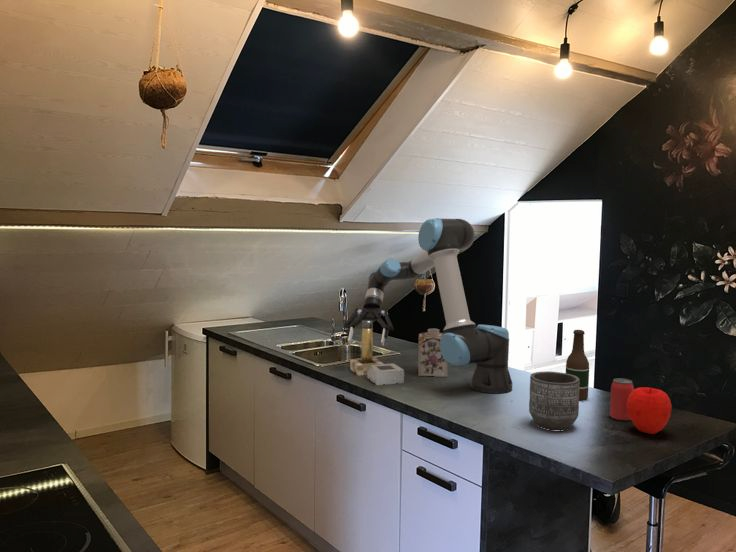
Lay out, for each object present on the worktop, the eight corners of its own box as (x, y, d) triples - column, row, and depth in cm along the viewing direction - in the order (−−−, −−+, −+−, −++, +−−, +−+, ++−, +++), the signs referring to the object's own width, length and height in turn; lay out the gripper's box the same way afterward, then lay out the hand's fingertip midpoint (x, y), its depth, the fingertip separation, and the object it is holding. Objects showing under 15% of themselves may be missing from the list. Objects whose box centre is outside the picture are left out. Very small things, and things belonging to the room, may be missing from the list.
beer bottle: (573, 402, 203) (575, 332, 201) (559, 395, 210) (562, 328, 208) (592, 400, 205) (595, 331, 203) (579, 394, 212) (581, 327, 210)
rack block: (383, 373, 240) (384, 363, 239) (357, 375, 236) (357, 365, 236) (375, 367, 250) (375, 357, 250) (350, 369, 247) (350, 359, 246)
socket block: (403, 383, 226) (404, 370, 225) (376, 385, 222) (376, 372, 222) (393, 375, 236) (393, 363, 236) (367, 377, 233) (367, 365, 232)
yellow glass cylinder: (373, 372, 242) (374, 321, 240) (363, 373, 240) (363, 321, 238) (370, 369, 246) (370, 319, 244) (359, 370, 245) (360, 319, 243)
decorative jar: (446, 370, 246) (447, 327, 244) (447, 377, 234) (448, 332, 233) (417, 369, 247) (418, 326, 246) (417, 376, 236) (418, 331, 234)
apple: (627, 436, 170) (629, 391, 169) (622, 423, 181) (625, 380, 180) (673, 441, 167) (676, 395, 165) (665, 428, 178) (668, 384, 177)
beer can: (613, 413, 191) (615, 376, 190) (635, 417, 187) (636, 380, 186) (606, 418, 186) (608, 380, 185) (628, 422, 182) (630, 384, 181)
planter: (519, 425, 179) (521, 376, 178) (543, 415, 189) (545, 368, 188) (563, 437, 169) (565, 386, 168) (586, 426, 179) (588, 377, 178)
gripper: (403, 307, 253) (397, 349, 240) (346, 305, 259) (337, 346, 245) (401, 296, 248) (395, 339, 234) (343, 294, 253) (334, 336, 240)
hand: (365, 343), depth 240 cm, fingers open, 13 cm apart
